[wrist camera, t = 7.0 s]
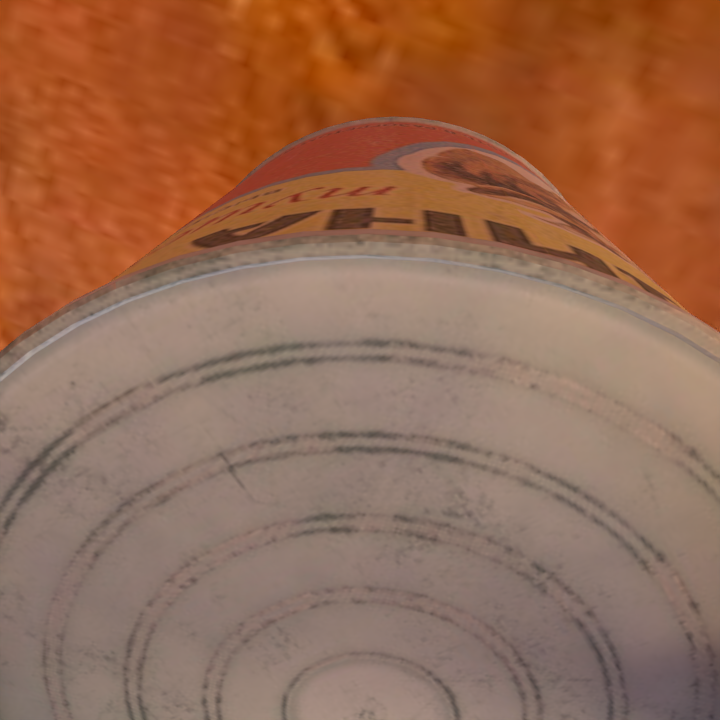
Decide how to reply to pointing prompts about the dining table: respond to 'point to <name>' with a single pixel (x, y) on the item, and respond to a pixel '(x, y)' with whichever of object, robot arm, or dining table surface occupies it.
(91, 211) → the dining table surface
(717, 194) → the dining table surface
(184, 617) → the canned food
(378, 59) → the dining table surface
